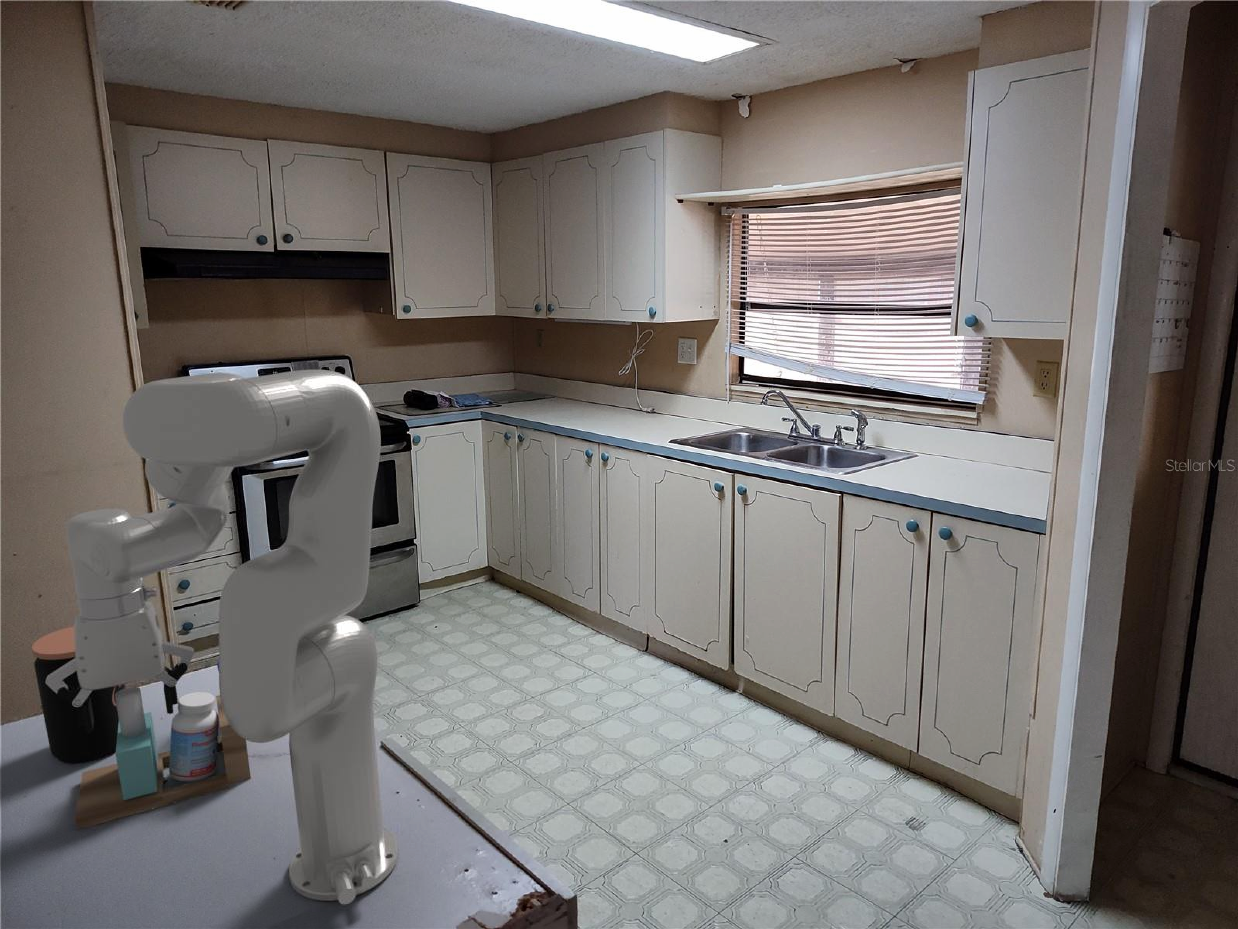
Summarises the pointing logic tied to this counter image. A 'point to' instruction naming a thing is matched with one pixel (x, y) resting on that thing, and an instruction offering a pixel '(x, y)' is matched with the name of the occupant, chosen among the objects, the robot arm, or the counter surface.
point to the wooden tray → (105, 793)
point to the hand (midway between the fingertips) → (131, 718)
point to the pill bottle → (194, 738)
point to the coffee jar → (62, 716)
